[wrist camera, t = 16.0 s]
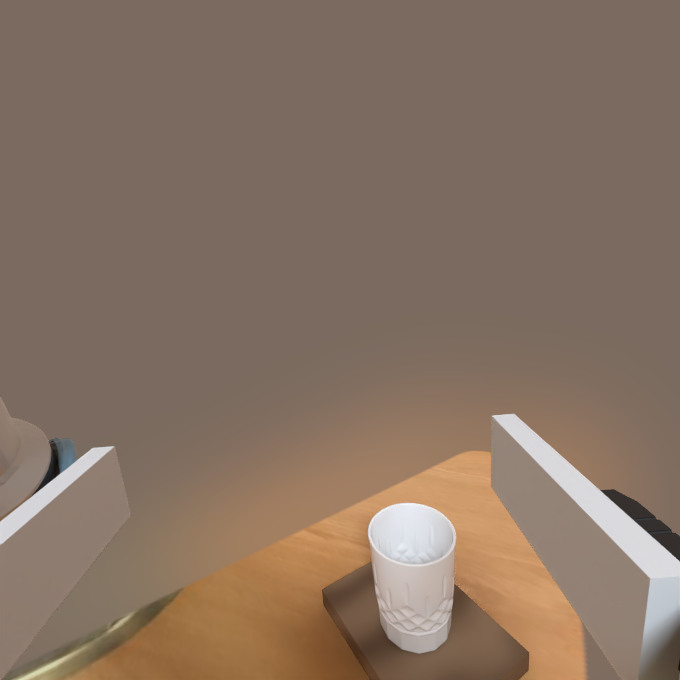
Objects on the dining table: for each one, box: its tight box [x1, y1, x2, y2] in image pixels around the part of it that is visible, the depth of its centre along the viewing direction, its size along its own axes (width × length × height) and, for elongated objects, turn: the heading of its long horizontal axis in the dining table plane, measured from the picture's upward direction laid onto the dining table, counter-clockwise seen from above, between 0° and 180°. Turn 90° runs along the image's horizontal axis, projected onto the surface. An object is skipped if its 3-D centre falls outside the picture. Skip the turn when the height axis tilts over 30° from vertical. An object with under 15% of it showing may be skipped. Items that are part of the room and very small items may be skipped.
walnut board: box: [322, 562, 529, 680], centre depth 37 cm, size 16×12×2 cm
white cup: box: [368, 503, 456, 654], centre depth 35 cm, size 8×8×10 cm
